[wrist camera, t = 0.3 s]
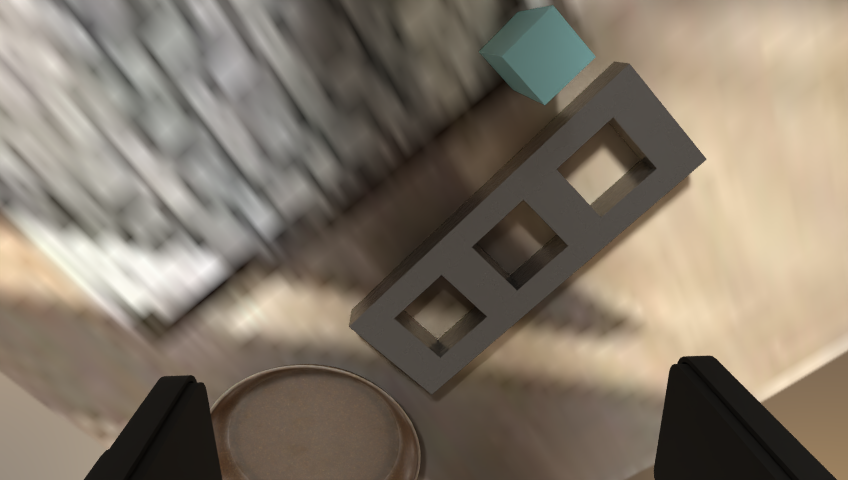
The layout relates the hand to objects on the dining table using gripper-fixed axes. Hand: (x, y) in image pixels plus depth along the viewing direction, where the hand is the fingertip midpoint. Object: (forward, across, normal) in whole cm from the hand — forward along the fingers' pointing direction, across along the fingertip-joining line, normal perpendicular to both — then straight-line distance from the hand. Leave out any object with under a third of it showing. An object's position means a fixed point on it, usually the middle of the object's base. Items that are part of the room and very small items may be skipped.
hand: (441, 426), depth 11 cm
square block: (+35, -8, -6) cm, 37 cm away
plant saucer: (+36, +10, +29) cm, 47 cm away
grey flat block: (+35, -9, +8) cm, 37 cm away
